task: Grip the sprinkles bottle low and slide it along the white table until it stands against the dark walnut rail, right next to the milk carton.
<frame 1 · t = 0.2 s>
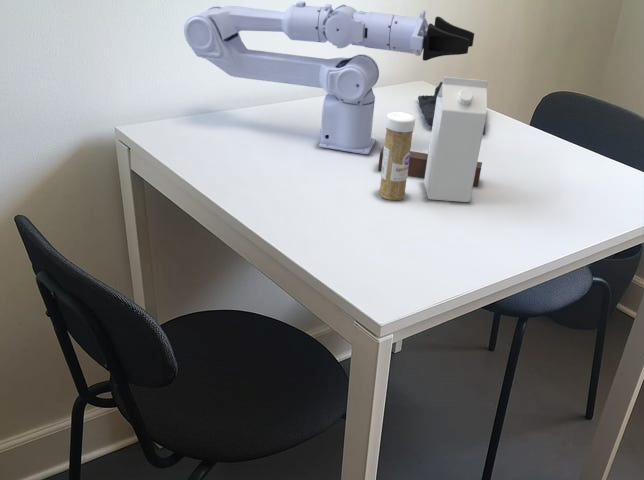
hand: (471, 43, 122), 21 cm above the table, tool horizontal, fingers open, 7 cm apart
walnut rail: (428, 176, 129), on the table
sprinkles bottle: (391, 196, 121), on the table
milk carton: (445, 194, 123), on the table
dark slate chunk: (450, 119, 156), on the table
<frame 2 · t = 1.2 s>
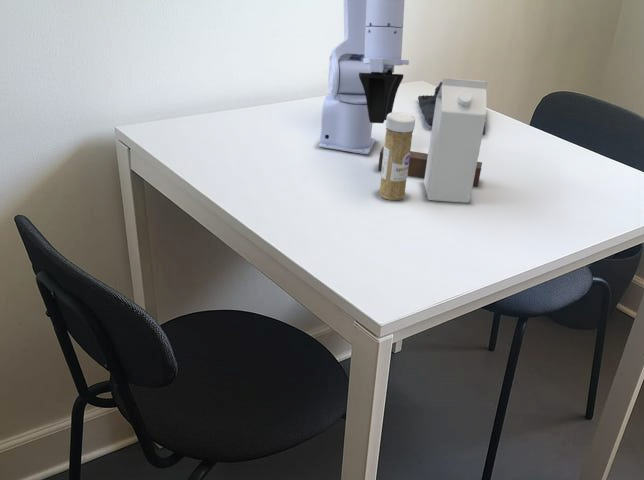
hand: (380, 121, 114), 12 cm above the table, tool tilted 15°, fingers open, 7 cm apart
nothing on the table moved.
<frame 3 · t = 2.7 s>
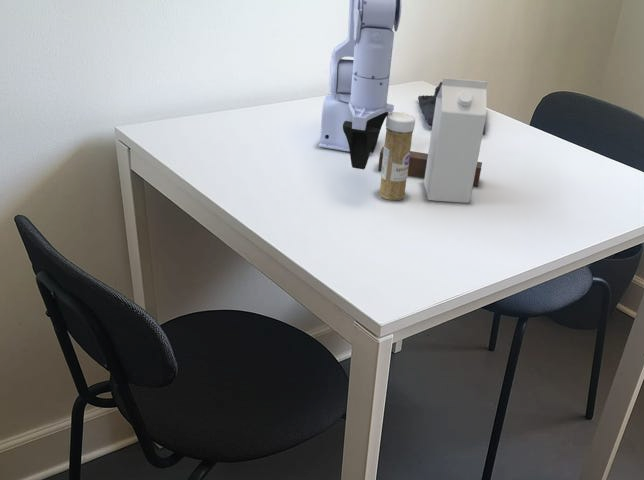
hand: (363, 159, 118), 5 cm above the table, tool pointing down, fingers open, 7 cm apart
nothing on the table moved.
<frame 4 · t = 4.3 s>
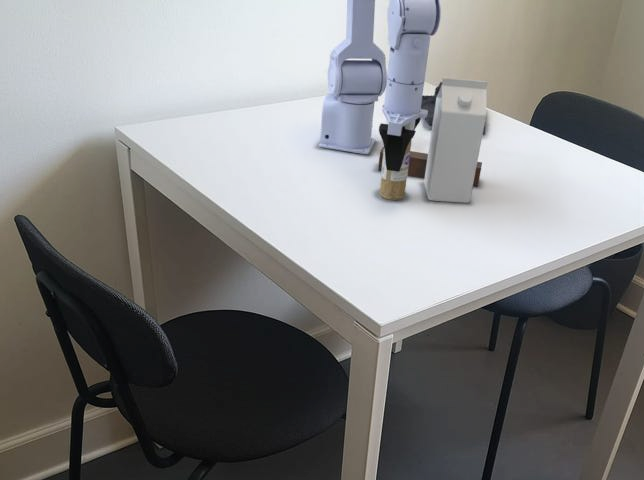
hand: (395, 164, 117), 5 cm above the table, tool pointing down, fingers closed on sprinkles bottle, 4 cm apart
sprinkles bottle: (391, 196, 121), on the table, touching gripper
everything else where it was.
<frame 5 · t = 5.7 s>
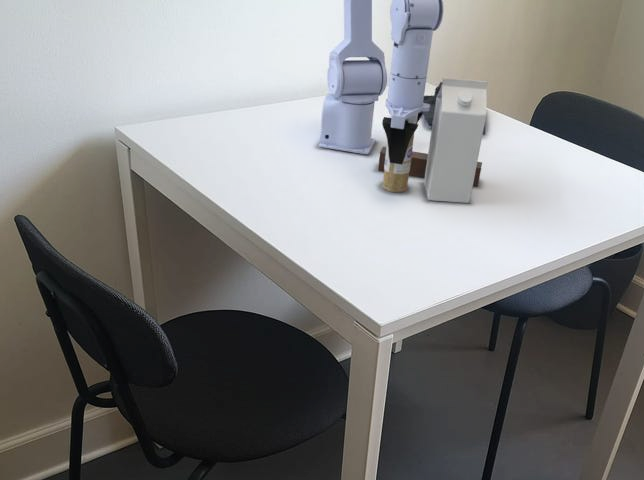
hand: (398, 157, 120), 5 cm above the table, tool pointing down, fingers closed on sprinkles bottle, 4 cm apart
sprinkles bottle: (394, 189, 123), on the table, touching gripper
everything else where it was.
when the fingers open (5 cm above the table, at t = 7.4 s): sprinkles bottle stays where it is, on the table.
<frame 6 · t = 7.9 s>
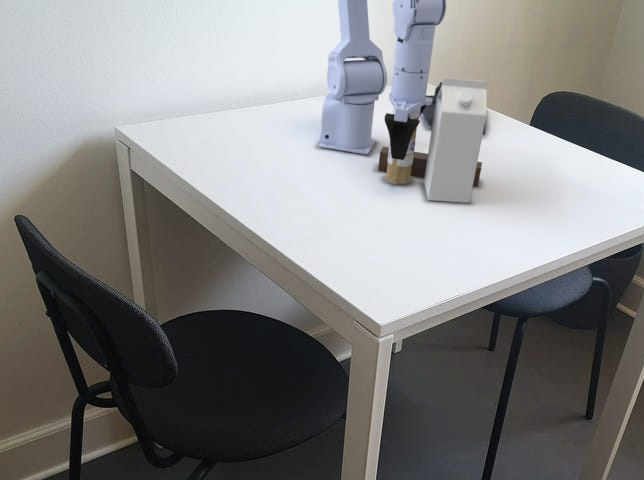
hand: (401, 150, 123), 5 cm above the table, tool pointing down, fingers open, 7 cm apart
sprinkles bottle: (397, 181, 126), on the table
everything else where it was.
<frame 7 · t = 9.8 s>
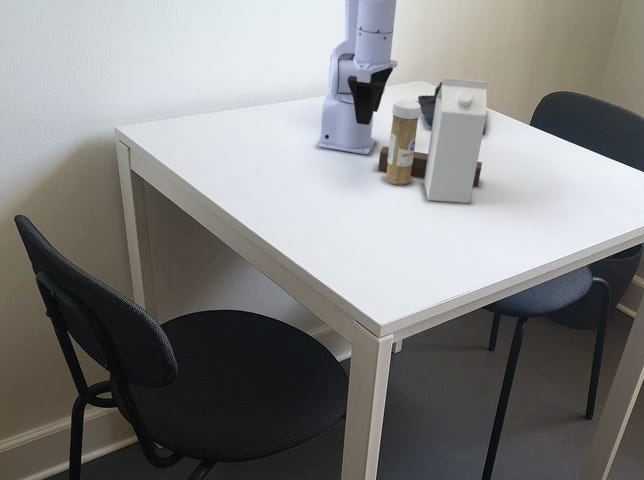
hand: (367, 117, 120), 10 cm above the table, tool pointing down, fingers open, 7 cm apart
nothing on the table moved.
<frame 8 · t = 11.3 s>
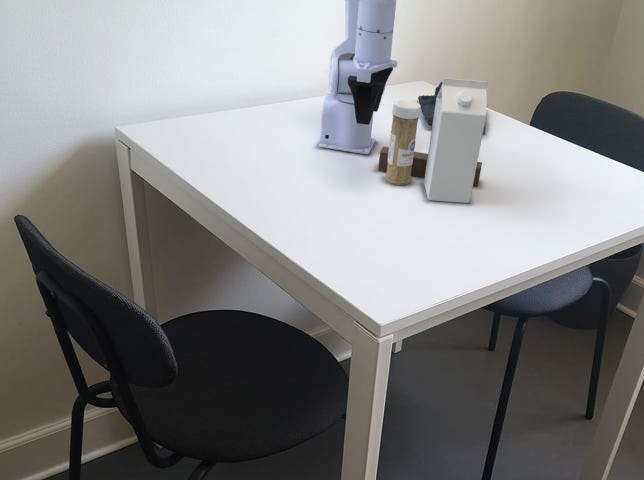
hand: (367, 116, 120), 10 cm above the table, tool pointing down, fingers open, 7 cm apart
nothing on the table moved.
at the end: sprinkles bottle 0.4 cm from the target spot, on the table; sprinkles bottle 9.1 cm from the milk carton (horizontally); sprinkles bottle tilted 0° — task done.
